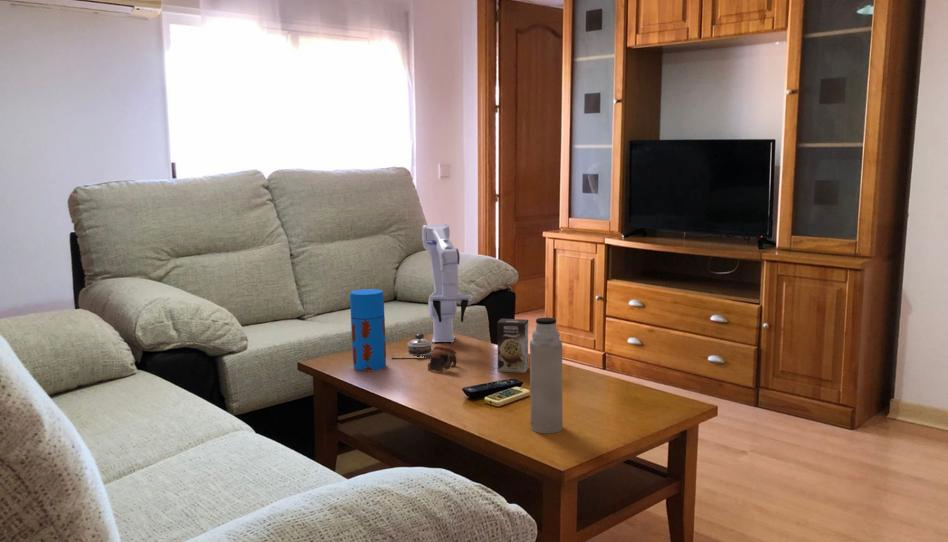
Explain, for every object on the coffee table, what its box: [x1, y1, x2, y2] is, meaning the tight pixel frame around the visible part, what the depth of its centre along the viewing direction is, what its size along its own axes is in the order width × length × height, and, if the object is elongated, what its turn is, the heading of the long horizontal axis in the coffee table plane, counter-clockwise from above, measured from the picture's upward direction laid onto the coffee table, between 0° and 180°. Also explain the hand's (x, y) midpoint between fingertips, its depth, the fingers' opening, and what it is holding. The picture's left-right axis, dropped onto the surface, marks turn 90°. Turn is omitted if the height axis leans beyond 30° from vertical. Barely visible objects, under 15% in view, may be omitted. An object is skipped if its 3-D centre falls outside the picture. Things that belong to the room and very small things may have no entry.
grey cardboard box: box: [497, 318, 529, 374], centre depth 249 cm, size 9×6×16 cm
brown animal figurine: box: [427, 346, 457, 372], centre depth 253 cm, size 12×10×8 cm
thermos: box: [349, 288, 387, 372], centre depth 255 cm, size 11×11×25 cm
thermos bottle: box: [529, 317, 564, 434], centre depth 194 cm, size 8×8×28 cm
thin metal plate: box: [391, 340, 435, 359], centre depth 272 cm, size 13×18×4 cm
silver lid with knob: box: [409, 332, 430, 345], centre depth 272 cm, size 6×6×3 cm
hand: (451, 321), depth 275 cm, fingers open, 7 cm apart
